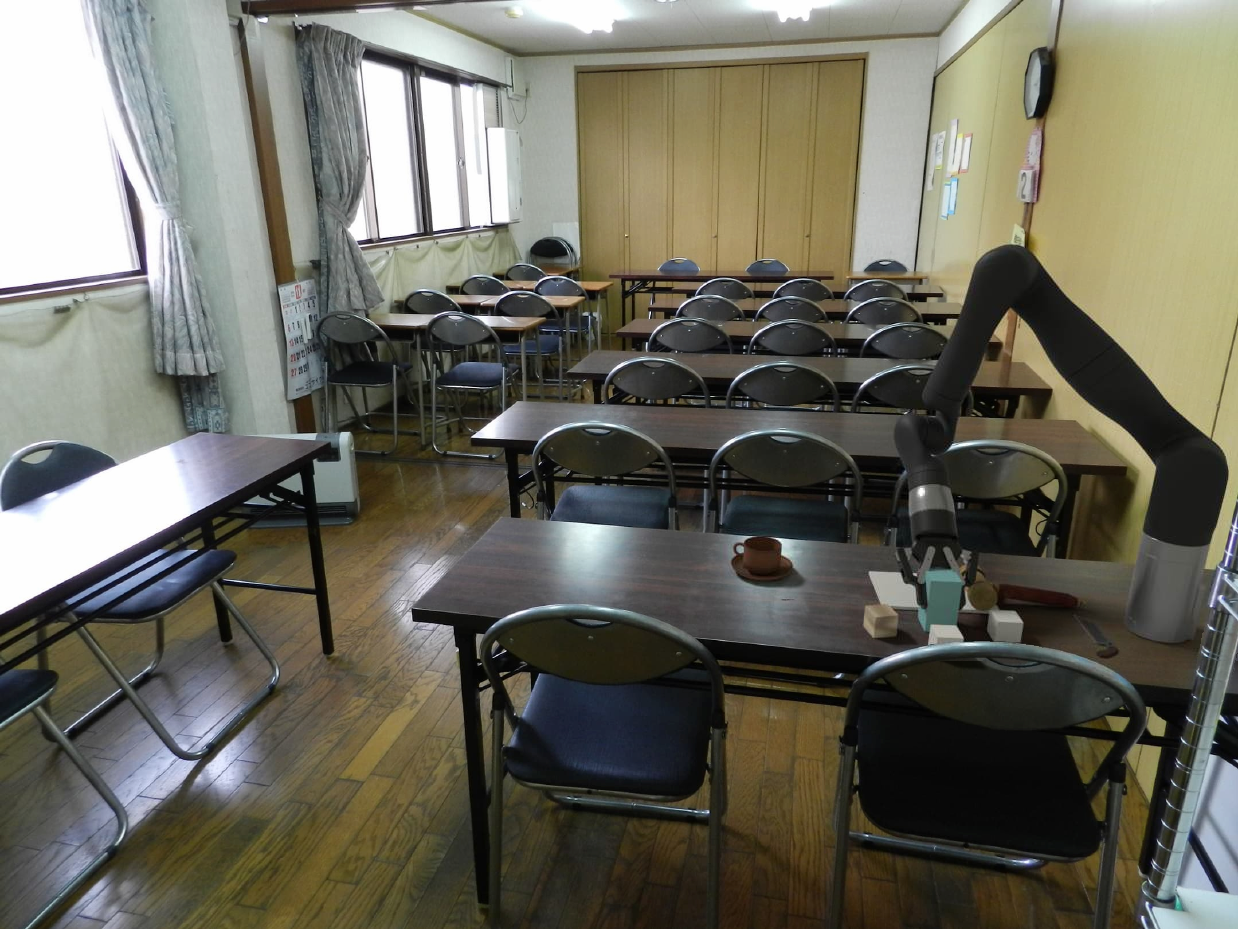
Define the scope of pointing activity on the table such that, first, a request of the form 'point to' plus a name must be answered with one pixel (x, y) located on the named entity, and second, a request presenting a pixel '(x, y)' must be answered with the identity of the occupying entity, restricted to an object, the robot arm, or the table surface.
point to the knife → (1097, 637)
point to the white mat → (905, 593)
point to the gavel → (1013, 593)
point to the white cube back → (944, 634)
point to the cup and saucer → (761, 559)
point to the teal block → (941, 598)
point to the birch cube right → (880, 620)
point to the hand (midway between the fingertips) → (942, 608)
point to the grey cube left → (1005, 626)
